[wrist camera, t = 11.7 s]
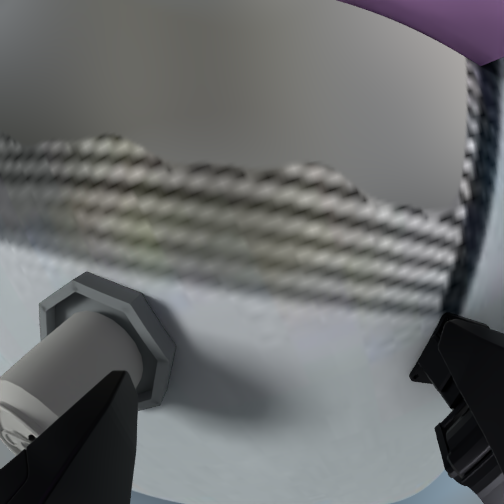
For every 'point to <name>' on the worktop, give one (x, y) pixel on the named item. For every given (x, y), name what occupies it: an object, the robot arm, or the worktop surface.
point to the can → (62, 374)
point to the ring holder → (124, 314)
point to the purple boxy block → (450, 23)
